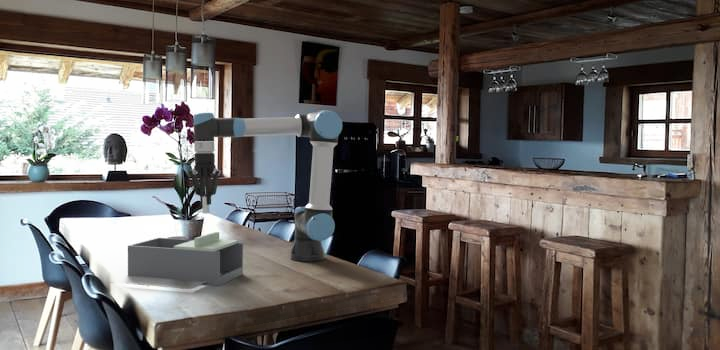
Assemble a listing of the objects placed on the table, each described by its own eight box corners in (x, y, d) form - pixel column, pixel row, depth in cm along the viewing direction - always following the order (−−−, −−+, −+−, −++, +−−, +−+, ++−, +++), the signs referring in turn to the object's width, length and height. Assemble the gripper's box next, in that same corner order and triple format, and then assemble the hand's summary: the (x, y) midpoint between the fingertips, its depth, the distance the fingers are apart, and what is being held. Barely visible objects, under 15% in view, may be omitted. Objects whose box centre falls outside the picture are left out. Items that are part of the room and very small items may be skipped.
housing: (242, 274, 227) (243, 243, 226) (218, 285, 208) (218, 251, 207) (158, 267, 235) (158, 237, 235) (127, 278, 216) (127, 245, 216)
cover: (238, 242, 226) (238, 232, 226) (214, 251, 207) (214, 240, 207) (200, 240, 230) (201, 230, 230) (173, 248, 211) (173, 237, 211)
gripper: (184, 152, 226) (186, 213, 228) (215, 152, 223) (217, 214, 225) (193, 152, 234) (195, 211, 235) (224, 152, 231) (225, 212, 232)
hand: (206, 212), depth 230 cm, fingers closed
